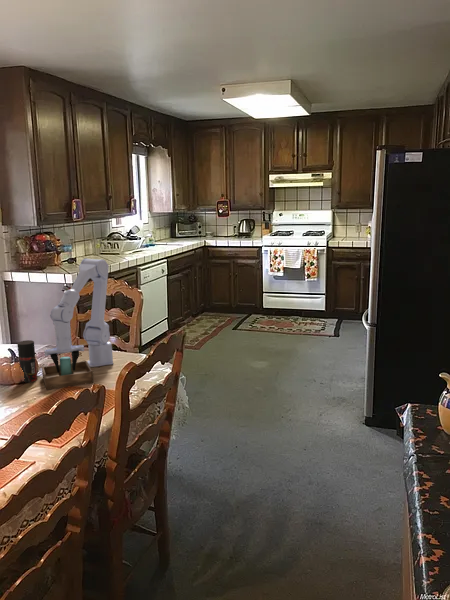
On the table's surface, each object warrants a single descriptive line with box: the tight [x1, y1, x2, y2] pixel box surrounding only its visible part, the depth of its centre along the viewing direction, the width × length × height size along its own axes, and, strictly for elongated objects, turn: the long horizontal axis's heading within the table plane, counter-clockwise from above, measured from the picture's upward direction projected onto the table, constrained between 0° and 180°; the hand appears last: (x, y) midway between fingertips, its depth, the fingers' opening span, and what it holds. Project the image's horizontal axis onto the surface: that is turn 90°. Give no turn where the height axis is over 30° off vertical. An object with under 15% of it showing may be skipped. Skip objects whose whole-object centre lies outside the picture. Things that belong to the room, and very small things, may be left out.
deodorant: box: [16, 339, 38, 384], centre depth 201 cm, size 6×6×15 cm
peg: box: [59, 356, 72, 376], centre depth 203 cm, size 4×4×8 cm
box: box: [41, 360, 94, 391], centre depth 201 cm, size 17×14×4 cm
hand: (66, 370), depth 203 cm, fingers open, 5 cm apart
